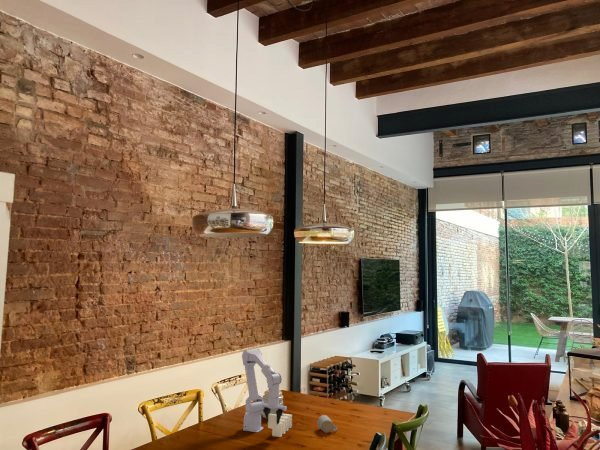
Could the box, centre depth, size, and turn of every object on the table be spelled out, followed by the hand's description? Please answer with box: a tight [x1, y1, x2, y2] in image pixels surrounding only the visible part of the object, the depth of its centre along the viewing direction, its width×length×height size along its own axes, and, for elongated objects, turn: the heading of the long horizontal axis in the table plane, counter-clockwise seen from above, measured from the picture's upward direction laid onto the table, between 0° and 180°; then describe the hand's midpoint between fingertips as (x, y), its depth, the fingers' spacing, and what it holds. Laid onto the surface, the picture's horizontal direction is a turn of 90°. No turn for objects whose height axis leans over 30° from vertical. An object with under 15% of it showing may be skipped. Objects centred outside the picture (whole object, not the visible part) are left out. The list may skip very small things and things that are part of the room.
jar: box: [261, 388, 284, 419], centre depth 285 cm, size 13×13×18 cm
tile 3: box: [280, 419, 286, 435], centre depth 255 cm, size 5×2×7 cm, turn 70°
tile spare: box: [267, 414, 278, 430], centre depth 246 cm, size 5×2×7 cm, turn 70°
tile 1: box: [283, 413, 293, 429], centre depth 265 cm, size 5×2×7 cm, turn 70°
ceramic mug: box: [317, 414, 338, 434], centre depth 260 cm, size 11×8×8 cm
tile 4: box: [271, 422, 283, 438], centre depth 251 cm, size 5×2×7 cm, turn 70°
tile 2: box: [280, 416, 290, 432], centre depth 260 cm, size 5×2×7 cm, turn 70°
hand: (273, 422), depth 246 cm, fingers closed on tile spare, 5 cm apart
